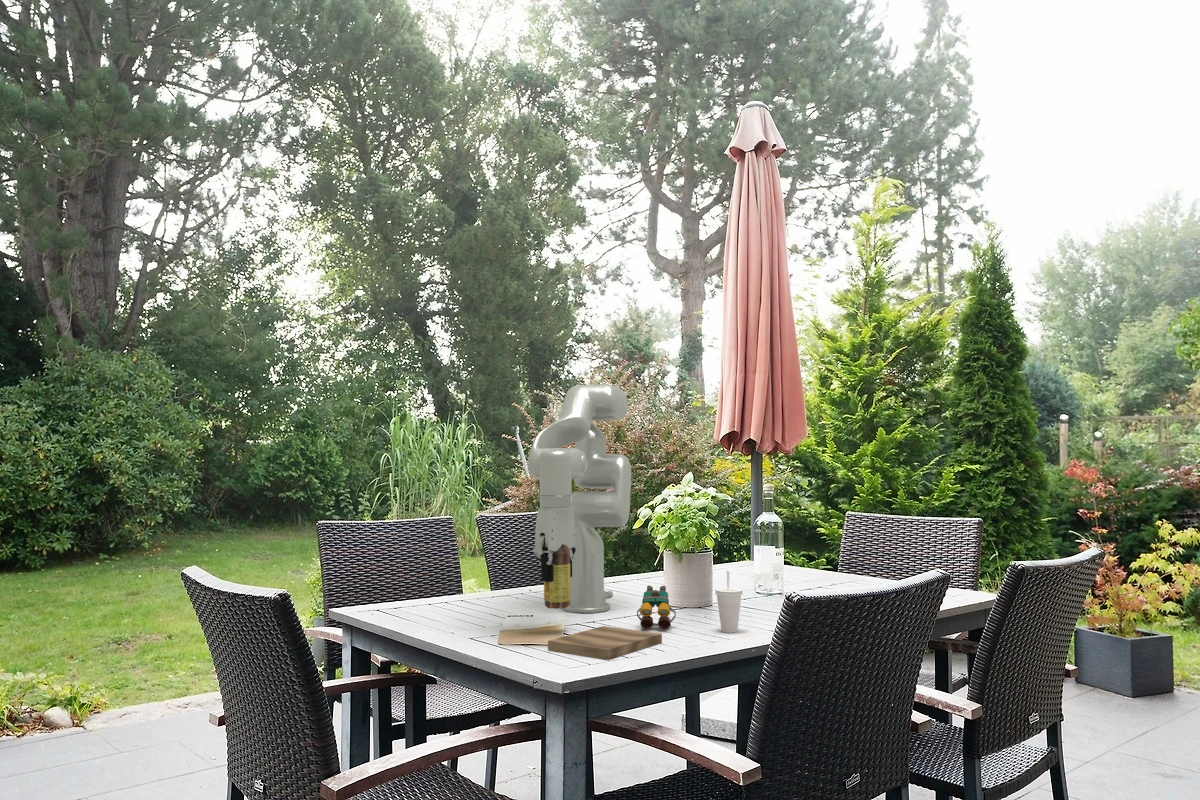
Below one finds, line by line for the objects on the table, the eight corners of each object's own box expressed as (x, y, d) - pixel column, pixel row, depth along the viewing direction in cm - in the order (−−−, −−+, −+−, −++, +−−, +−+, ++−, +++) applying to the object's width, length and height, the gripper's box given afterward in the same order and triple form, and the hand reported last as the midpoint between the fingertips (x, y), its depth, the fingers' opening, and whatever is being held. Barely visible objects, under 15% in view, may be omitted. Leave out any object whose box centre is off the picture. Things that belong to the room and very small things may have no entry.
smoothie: (713, 633, 210) (712, 572, 210) (719, 627, 216) (718, 568, 216) (740, 634, 207) (739, 573, 208) (745, 629, 213) (744, 569, 214)
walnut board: (603, 634, 208) (603, 625, 209) (661, 642, 199) (661, 633, 199) (548, 650, 192) (548, 640, 193) (608, 659, 183) (608, 649, 183)
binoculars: (636, 637, 216) (634, 605, 211) (638, 610, 224) (636, 579, 219) (675, 637, 215) (674, 605, 210) (676, 611, 223) (675, 579, 218)
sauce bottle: (545, 604, 215) (544, 520, 216) (571, 604, 215) (570, 520, 216) (542, 609, 209) (542, 523, 209) (569, 609, 209) (568, 523, 209)
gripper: (566, 499, 222) (567, 572, 221) (519, 504, 208) (520, 583, 207) (590, 500, 217) (591, 575, 217) (544, 506, 203) (545, 586, 203)
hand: (556, 578), depth 212 cm, fingers closed on sauce bottle, 6 cm apart
